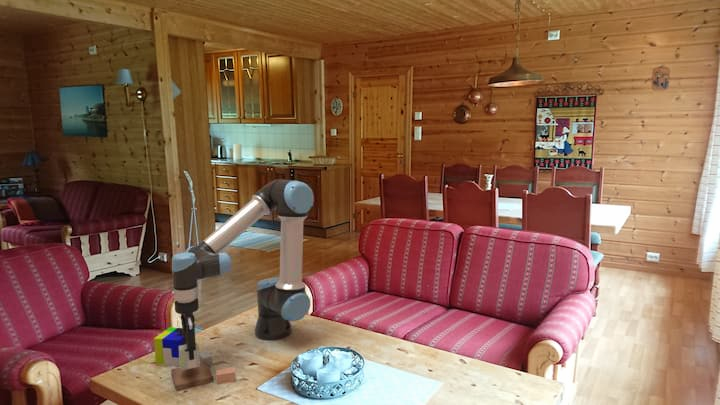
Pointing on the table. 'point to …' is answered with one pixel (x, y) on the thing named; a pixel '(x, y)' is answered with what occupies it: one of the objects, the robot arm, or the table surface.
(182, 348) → the sage brick
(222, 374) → the terracotta brick
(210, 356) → the grey brick
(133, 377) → the table surface
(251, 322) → the table surface
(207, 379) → the walnut slab
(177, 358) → the puzzle toy
